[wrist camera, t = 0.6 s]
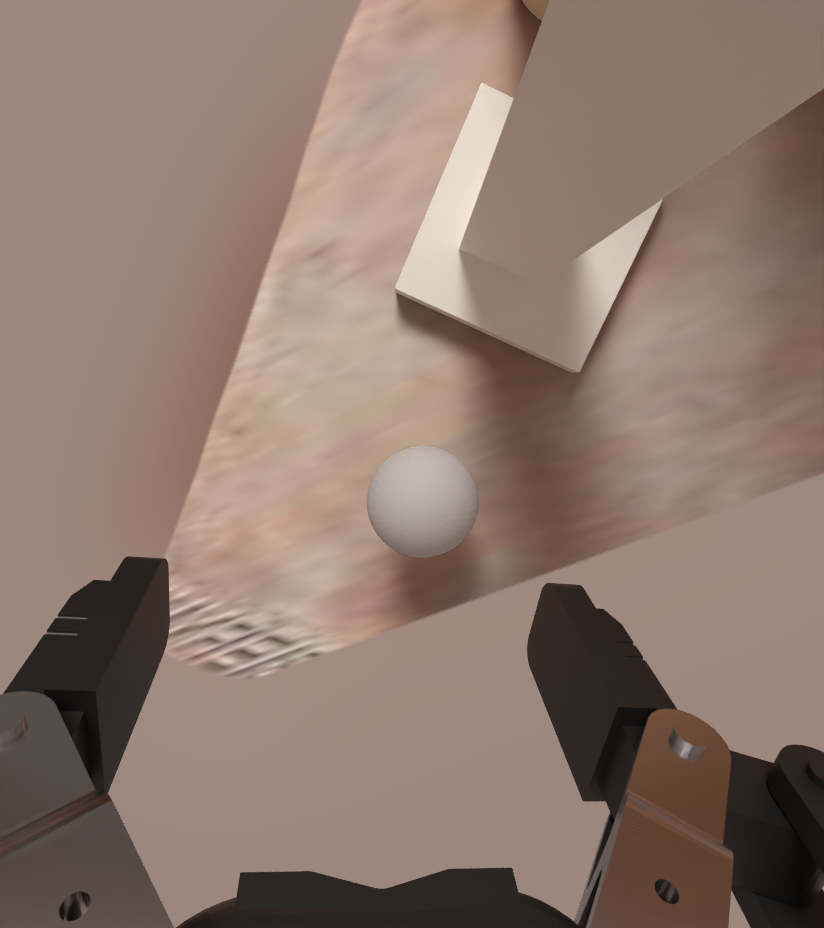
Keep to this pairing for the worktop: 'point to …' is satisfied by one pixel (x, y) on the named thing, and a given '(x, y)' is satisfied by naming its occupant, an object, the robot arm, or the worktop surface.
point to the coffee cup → (537, 7)
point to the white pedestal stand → (599, 156)
